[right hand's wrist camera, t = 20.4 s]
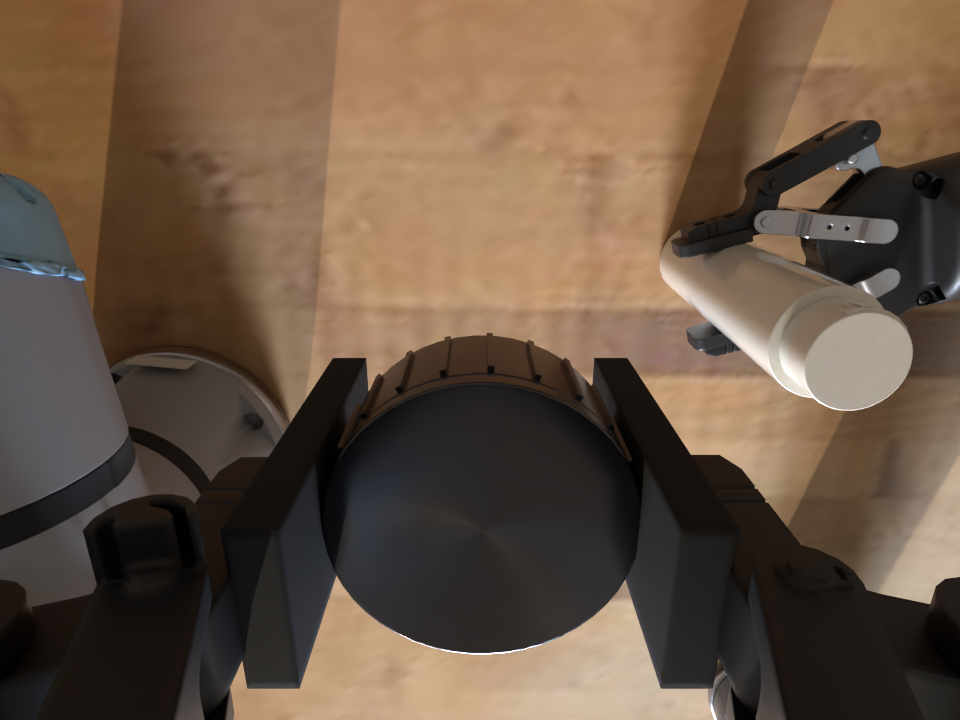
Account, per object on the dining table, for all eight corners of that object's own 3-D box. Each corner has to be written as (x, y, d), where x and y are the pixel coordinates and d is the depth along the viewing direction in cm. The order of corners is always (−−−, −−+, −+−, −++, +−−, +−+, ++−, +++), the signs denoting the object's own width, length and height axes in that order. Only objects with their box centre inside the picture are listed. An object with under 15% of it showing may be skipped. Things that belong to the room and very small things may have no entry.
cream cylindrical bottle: (736, 285, 41) (927, 406, 23) (665, 302, 41) (797, 433, 23) (727, 215, 39) (925, 285, 21) (654, 233, 40) (786, 317, 22)
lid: (417, 280, 11) (401, 317, 9) (670, 407, 12) (713, 470, 10) (305, 508, 13) (268, 587, 10) (534, 605, 14) (545, 698, 11)
